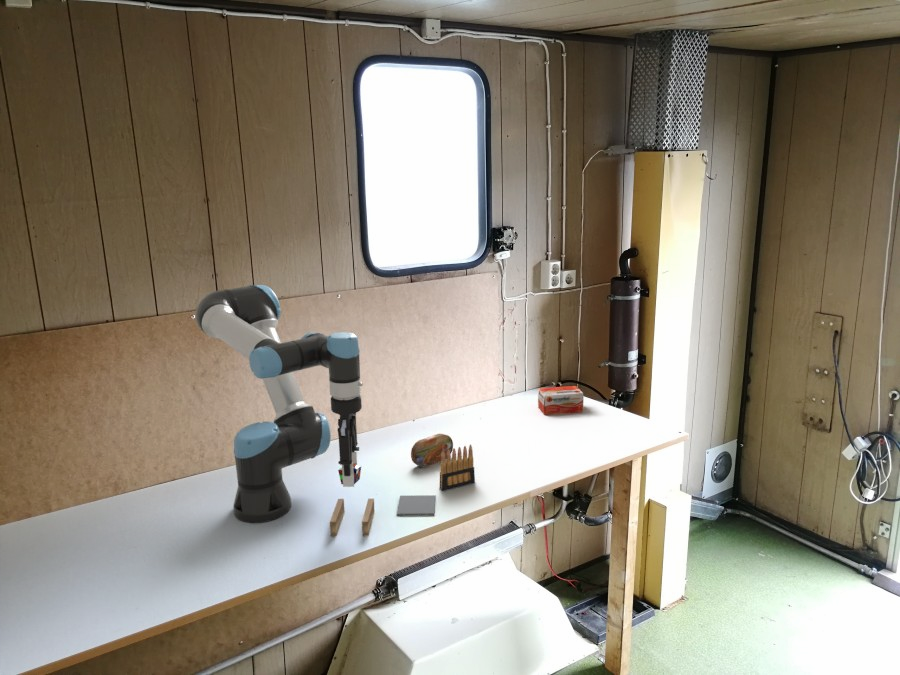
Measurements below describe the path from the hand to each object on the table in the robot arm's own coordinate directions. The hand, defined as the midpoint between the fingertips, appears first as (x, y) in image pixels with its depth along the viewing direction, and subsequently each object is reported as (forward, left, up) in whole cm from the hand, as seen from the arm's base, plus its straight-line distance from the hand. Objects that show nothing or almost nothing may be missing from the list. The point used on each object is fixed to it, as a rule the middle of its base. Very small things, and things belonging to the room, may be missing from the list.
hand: (350, 480), depth 176 cm
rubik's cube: (0, 0, -1) cm, 1 cm away
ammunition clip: (+27, +21, -13) cm, 36 cm away
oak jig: (0, 0, -12) cm, 12 cm away
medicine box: (+65, +81, -13) cm, 105 cm away
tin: (+19, +37, -13) cm, 43 cm away
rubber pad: (+16, +9, -12) cm, 22 cm away
